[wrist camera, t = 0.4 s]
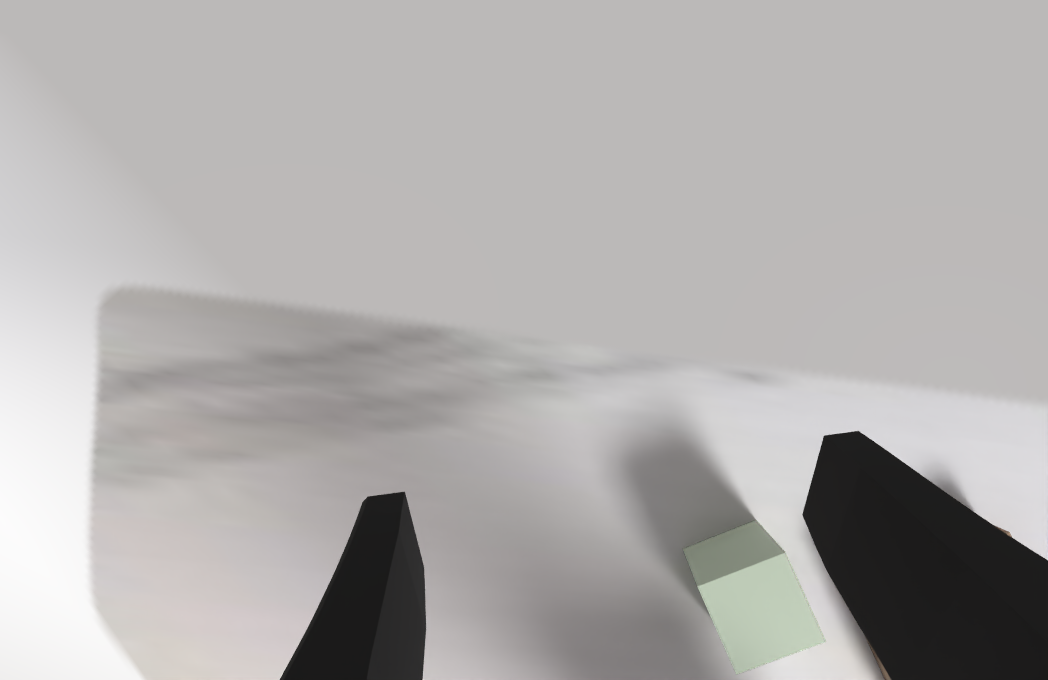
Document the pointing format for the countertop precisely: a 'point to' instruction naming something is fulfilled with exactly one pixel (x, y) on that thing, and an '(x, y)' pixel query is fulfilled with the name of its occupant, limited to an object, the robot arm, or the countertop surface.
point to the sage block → (752, 596)
